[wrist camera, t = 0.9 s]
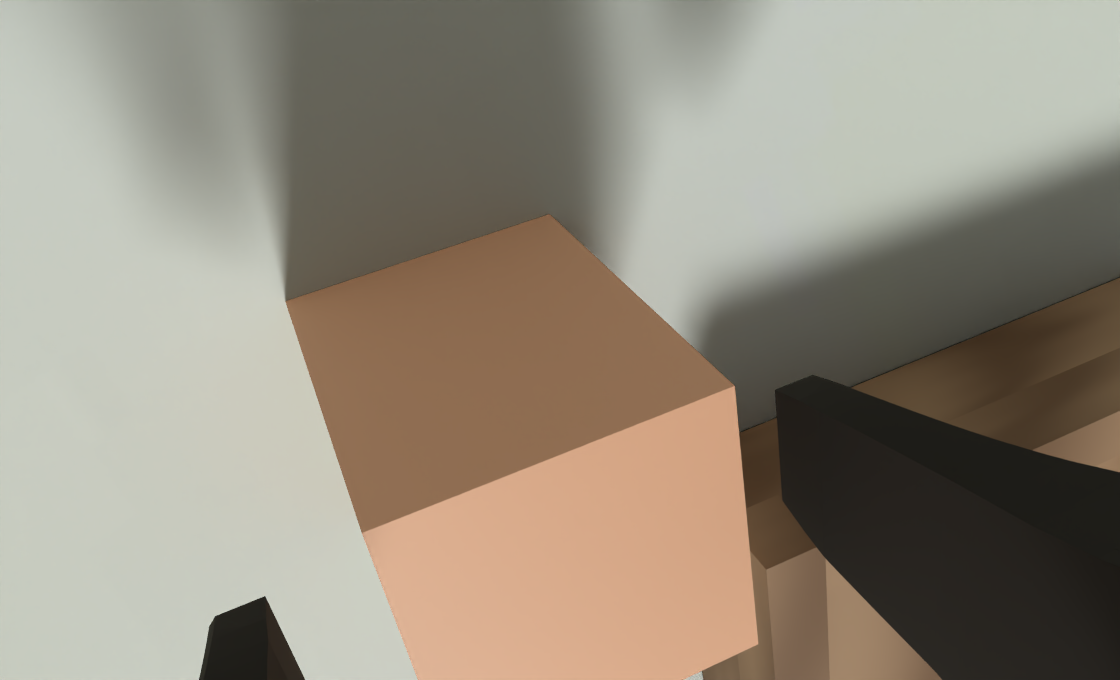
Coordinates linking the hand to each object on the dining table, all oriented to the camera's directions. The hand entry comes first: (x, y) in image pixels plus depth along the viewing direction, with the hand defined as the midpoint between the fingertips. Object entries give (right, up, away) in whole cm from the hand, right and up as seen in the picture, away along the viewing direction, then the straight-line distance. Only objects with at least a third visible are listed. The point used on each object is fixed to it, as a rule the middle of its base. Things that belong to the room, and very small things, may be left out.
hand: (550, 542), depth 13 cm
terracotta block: (-2, +2, +4) cm, 5 cm away
